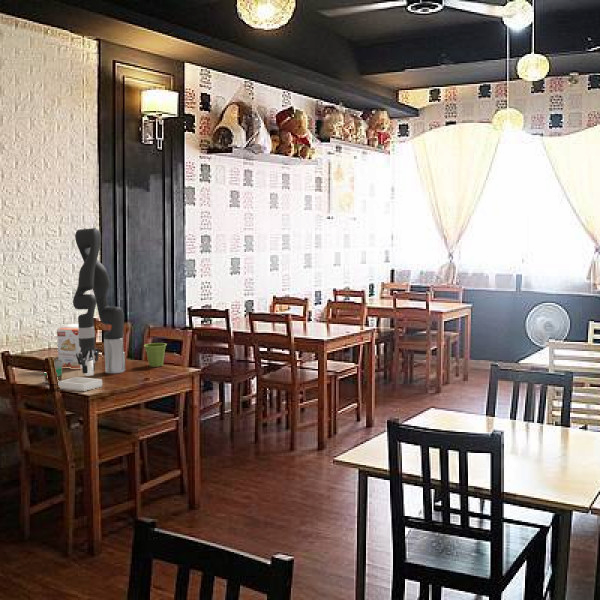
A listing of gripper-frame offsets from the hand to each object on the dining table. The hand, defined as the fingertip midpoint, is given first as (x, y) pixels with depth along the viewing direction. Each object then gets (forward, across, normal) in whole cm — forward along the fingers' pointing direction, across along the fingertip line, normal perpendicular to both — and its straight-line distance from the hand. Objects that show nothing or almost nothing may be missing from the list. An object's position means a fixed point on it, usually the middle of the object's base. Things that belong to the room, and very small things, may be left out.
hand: (88, 371), depth 368 cm
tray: (+5, +13, +6) cm, 15 cm away
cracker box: (+6, -25, -33) cm, 42 cm away
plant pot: (+6, -46, +4) cm, 47 cm away
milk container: (+6, -52, -56) cm, 77 cm away
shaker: (+1, 0, 0) cm, 1 cm away
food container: (+5, +6, -14) cm, 17 cm away
